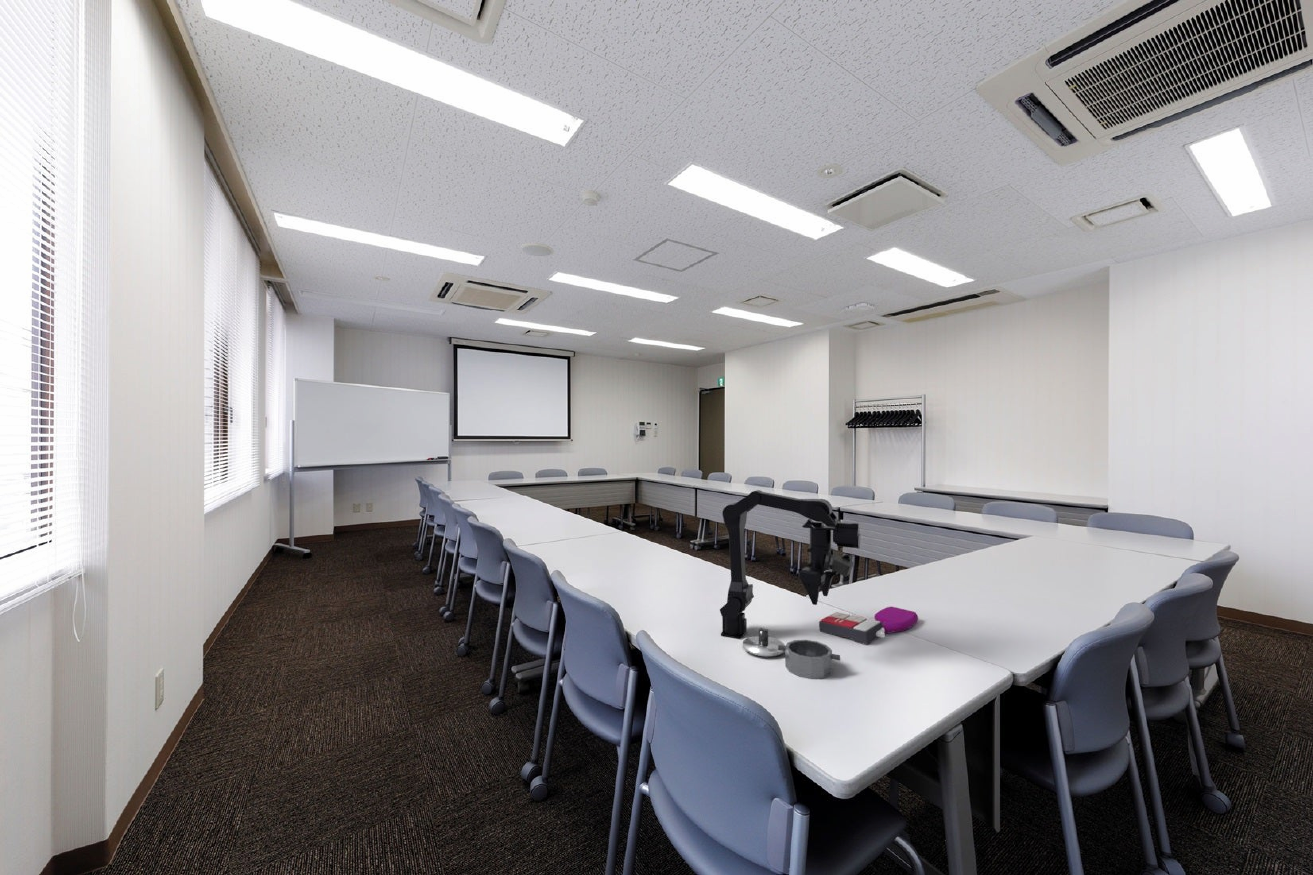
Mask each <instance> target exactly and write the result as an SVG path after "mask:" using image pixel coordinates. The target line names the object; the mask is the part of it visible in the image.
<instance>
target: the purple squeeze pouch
mask: <svg viewBox="0 0 1313 875" xmlns="http://www.w3.org/2000/svg"><path fill="white" fill-rule="evenodd" d="M873 617H874V620H876V621H880V622H882V626H883V627H882V628H881V629H880V630H879V631H877V633H876V636H877V637H879V638H882V639H884V638H885V636H886V635H885V634H890V633H895V632H903V631H906V630H909V629H910V628H911V627H913V626H914V625H915V624H916V623H917V622H918V621H919V616H918V614H917V613H916V612H915V611H912V610H908V609H904V608H899V607H897V606H887V607H885V608H882V609H880V610H879V611H877V612H876V613H875V614H874V616H873Z"/></svg>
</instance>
